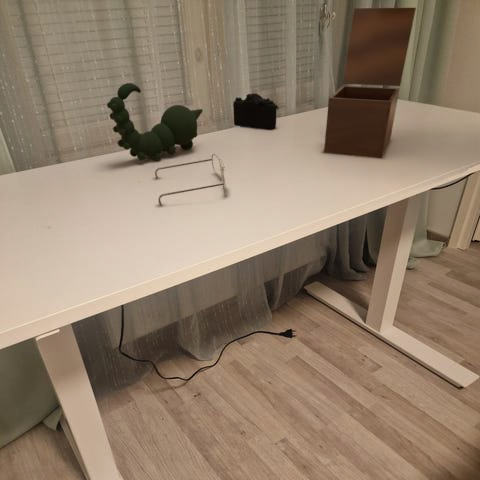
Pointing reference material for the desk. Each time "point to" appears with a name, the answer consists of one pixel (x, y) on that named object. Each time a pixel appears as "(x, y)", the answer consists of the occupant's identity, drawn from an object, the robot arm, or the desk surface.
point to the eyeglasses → (195, 188)
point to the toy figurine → (161, 136)
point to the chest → (360, 120)
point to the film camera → (255, 112)
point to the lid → (378, 46)
